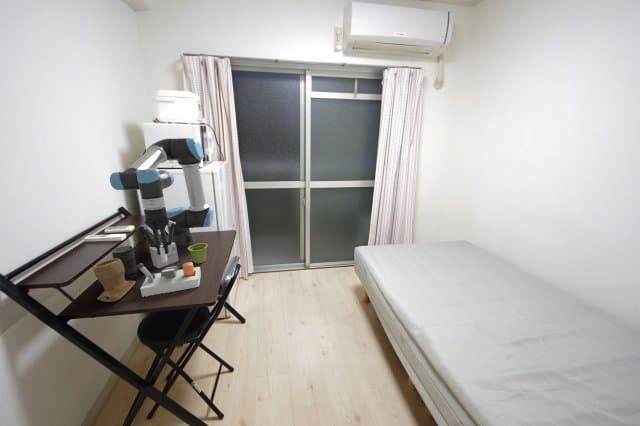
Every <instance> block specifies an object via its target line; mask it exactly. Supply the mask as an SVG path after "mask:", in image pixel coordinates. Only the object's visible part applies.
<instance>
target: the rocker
mask: <svg viewBox="0 0 640 426" xmlns="http://www.w3.org/2000/svg"><path fill="white" fill-rule="evenodd" d="M178 270H179V266H178V265H176V266H175V265H173V266H169V267H167V266H166V267H164V269H163V270H162V271H161V272H160V273H161V277H165V276H171V275H175V274H176V272H177V271H178Z"/></svg>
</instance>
